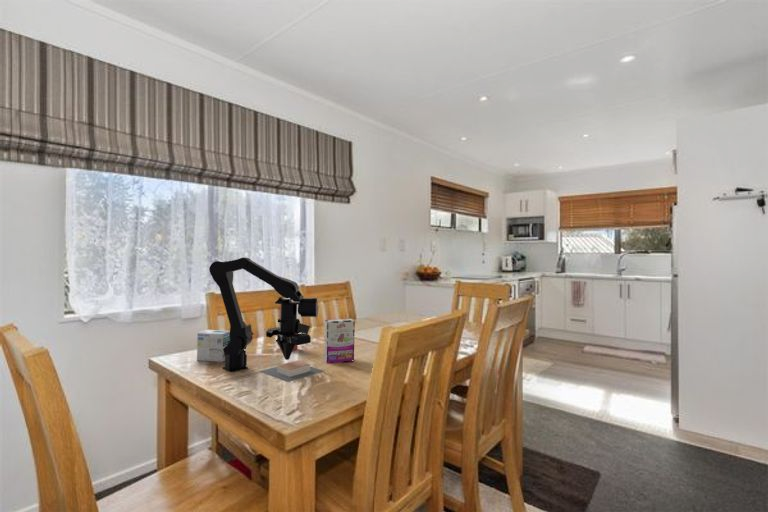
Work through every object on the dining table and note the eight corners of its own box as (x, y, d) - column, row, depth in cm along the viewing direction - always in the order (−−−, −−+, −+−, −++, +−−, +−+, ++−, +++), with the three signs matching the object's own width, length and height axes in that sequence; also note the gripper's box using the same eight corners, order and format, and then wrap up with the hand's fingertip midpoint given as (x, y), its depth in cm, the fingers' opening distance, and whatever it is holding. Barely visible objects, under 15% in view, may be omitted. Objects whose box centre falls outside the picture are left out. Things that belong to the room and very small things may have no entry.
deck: (277, 372, 133) (289, 376, 129) (277, 365, 133) (289, 369, 129) (297, 366, 140) (310, 370, 136) (297, 360, 140) (310, 364, 136)
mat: (287, 383, 124) (287, 382, 124) (259, 372, 134) (259, 371, 134) (324, 371, 136) (324, 371, 136) (296, 362, 146) (296, 361, 146)
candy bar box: (350, 358, 154) (351, 318, 154) (354, 361, 150) (355, 320, 150) (323, 360, 150) (324, 319, 150) (326, 364, 146) (327, 321, 145)
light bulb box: (231, 357, 150) (232, 330, 150) (222, 362, 144) (223, 333, 144) (205, 356, 151) (206, 329, 151) (195, 360, 145) (196, 332, 145)
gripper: (323, 317, 137) (321, 360, 137) (290, 310, 149) (289, 350, 149) (298, 320, 128) (296, 367, 128) (265, 313, 140) (264, 356, 140)
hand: (287, 359), depth 137 cm, fingers closed
